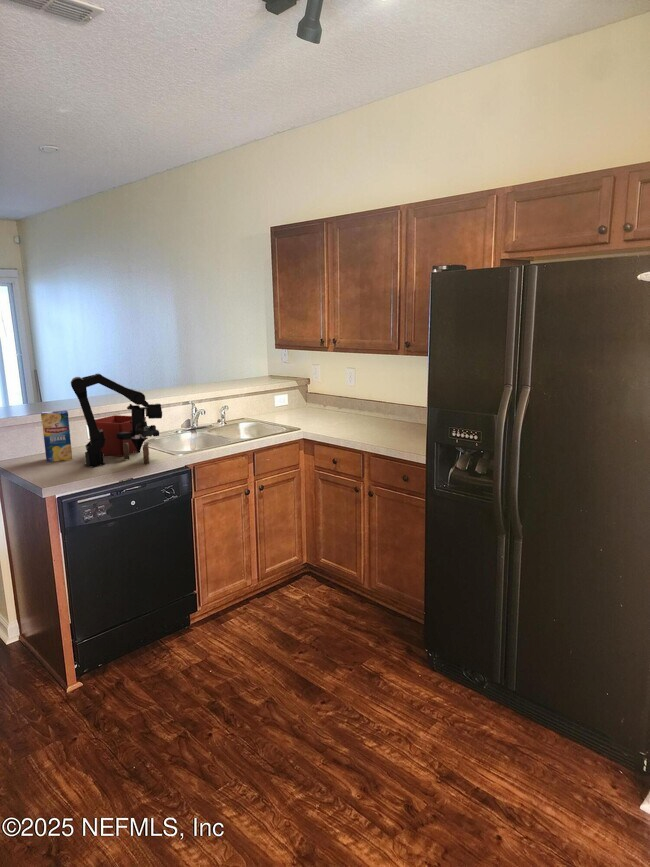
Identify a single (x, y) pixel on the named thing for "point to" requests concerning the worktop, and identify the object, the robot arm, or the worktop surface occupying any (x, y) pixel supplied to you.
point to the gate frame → (145, 453)
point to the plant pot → (115, 434)
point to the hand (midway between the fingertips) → (138, 452)
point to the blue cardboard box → (56, 435)
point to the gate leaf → (146, 445)
